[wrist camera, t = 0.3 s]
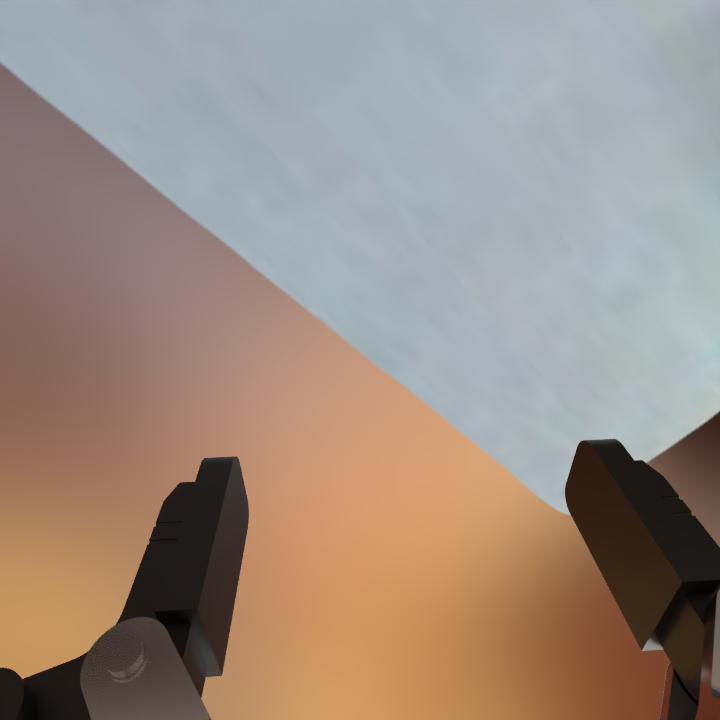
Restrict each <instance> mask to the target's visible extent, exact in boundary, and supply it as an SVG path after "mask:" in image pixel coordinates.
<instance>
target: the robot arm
mask: <svg viewBox="0 0 720 720" xmlns="http://www.w3.org/2000/svg"><path fill="white" fill-rule="evenodd" d="M565 497H566V503H567V507H568V509H569V512H570V514H571V516H572V517H573V519H574V521H575V523H576V525H577V527H578V529H579V531H580V533H581V534H582V537H583V539H584V541H585V543H586V545H587V546H588V548H589V550H590V552H591V554H592V556H593V558H594V560H595V562H596V564H597V566H598V567H599V569H600V571H601V573H602V575H603V577H604V579H605V581H606V583H607V585H608V587H609V589H610V591H611V593H612V594H613V596H614V598H615V600H616V602H617V604H618V606H619V608H620V610H621V612H622V614H623V615H624V617H625V619H626V621H627V623H628V625H629V627H630V629H631V631H632V633H633V635H634V637H635V639H636V641H637V643H638V644H639V646H640V648H641V650H642V651H645V650H660V649H664V651H665V652H666V654H667V656H668V658H669V660H670V664H669V665H668V667H667V671H666V678H665V685H664V693H663V700H662V708H661V715H660V720H720V548H719V546H718V545H717V544H716V542H715V541H714V540H713V539H712V537H711V536H710V535H709V533H708V532H707V531H706V530H705V528H704V527H703V526H702V525H701V523H700V522H699V521H698V520H697V518H696V517H695V516H692V514H691V511H690V509H689V508H688V507H687V506H686V504H685V503H684V502H683V500H680V499H679V495H678V494H677V493H676V492H675V490H674V489H673V488H672V486H671V485H670V484H669V483H668V481H667V480H666V479H665V478H664V477H663V476H662V475H661V474H660V473H658V472H657V471H656V470H654V469H653V468H651V467H650V466H649V465H647V464H646V463H645V462H643V461H642V460H638V461H634V460H633V458H632V457H631V456H630V454H629V453H628V452H627V450H626V449H625V448H624V446H623V445H622V444H621V443H620V442H619V441H618V440H616V439H605V440H584V441H581V442H580V443H579V445H578V447H577V450H576V453H575V456H574V460H573V463H572V466H571V469H570V473H569V476H568V479H567V482H566V487H565ZM248 519H249V509H248V500H247V495H246V490H245V486H244V481H243V476H242V472H241V466H240V462H239V459H238V457H217V458H204V459H203V461H202V462H201V465H200V468H199V471H198V474H197V478H196V481H195V482H183V483H179V484H178V485H177V487H176V488H175V489H174V490H173V491H172V492H171V494H170V495H169V496H168V497H167V498H166V499H165V500H164V502H163V505H162V507H161V510H160V513H159V516H158V518H157V521H156V527H154V529H153V532H152V534H151V537H150V543H149V545H147V548H146V550H145V554H144V556H143V559H142V561H141V564H140V567H139V569H138V572H137V574H136V577H135V580H134V583H133V585H132V588H131V591H130V593H129V596H128V599H127V601H126V604H125V607H124V609H123V612H122V614H121V616H120V618H119V620H118V622H117V624H116V625H115V626H113V627H112V628H110V629H109V630H108V631H106V632H105V633H104V634H103V635H102V636H101V637H100V638H99V639H98V640H97V641H96V642H95V643H94V644H93V646H92V648H91V649H90V650H89V651H88V652H87V653H85V654H83V655H82V656H80V657H78V658H76V659H73V660H71V661H69V662H66V663H63V664H61V665H58V666H56V667H53V668H50V669H48V670H45V671H42V672H40V673H37V674H35V675H32V676H29V677H27V678H24V679H22V678H21V677H20V676H19V675H18V674H17V673H16V672H15V671H13V670H11V669H7V668H0V720H211V718H210V716H209V714H208V712H207V710H206V708H205V706H204V704H203V702H202V700H201V697H202V692H203V687H204V682H205V677H212V676H222V672H223V666H224V661H225V655H226V649H227V644H228V638H229V632H230V626H231V621H232V615H233V609H234V603H235V597H236V592H237V586H238V581H239V575H240V569H241V563H242V557H243V552H244V546H245V540H246V535H247V529H248Z"/></svg>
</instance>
